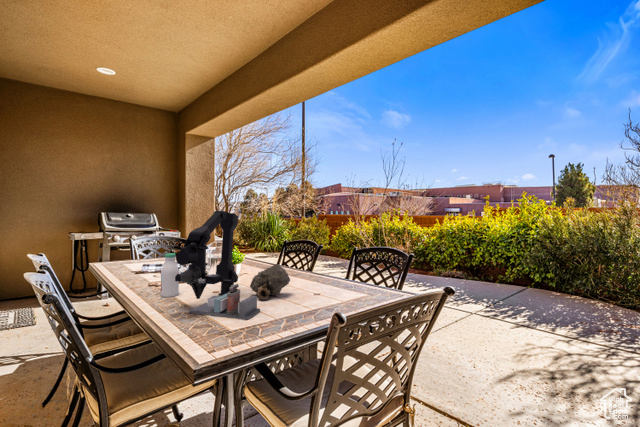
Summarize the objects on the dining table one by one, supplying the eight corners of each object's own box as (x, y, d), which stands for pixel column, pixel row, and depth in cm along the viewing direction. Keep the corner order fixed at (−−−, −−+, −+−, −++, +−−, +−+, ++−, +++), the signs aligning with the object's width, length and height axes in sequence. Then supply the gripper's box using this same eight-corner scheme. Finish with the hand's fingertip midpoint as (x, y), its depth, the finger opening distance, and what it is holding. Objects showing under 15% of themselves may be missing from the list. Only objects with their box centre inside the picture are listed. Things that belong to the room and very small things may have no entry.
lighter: (232, 313, 119) (233, 287, 118) (224, 313, 119) (225, 287, 119) (242, 307, 126) (242, 283, 126) (234, 306, 127) (234, 282, 127)
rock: (276, 258, 157) (271, 257, 142) (294, 280, 155) (292, 281, 140) (248, 283, 154) (240, 284, 140) (266, 305, 153) (261, 309, 138)
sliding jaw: (217, 303, 130) (217, 291, 130) (234, 305, 128) (234, 293, 128) (202, 310, 121) (203, 298, 121) (220, 312, 119) (220, 299, 119)
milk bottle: (182, 294, 150) (182, 253, 150) (169, 298, 143) (170, 255, 143) (169, 292, 153) (170, 252, 152) (156, 296, 145) (157, 254, 145)
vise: (204, 305, 132) (205, 291, 132) (260, 311, 125) (260, 296, 125) (189, 313, 122) (189, 297, 122) (248, 319, 116) (248, 303, 115)
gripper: (165, 263, 123) (165, 302, 123) (206, 265, 118) (205, 306, 118) (184, 259, 133) (184, 294, 133) (222, 261, 128) (222, 298, 129)
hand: (198, 298), depth 128 cm, fingers closed
